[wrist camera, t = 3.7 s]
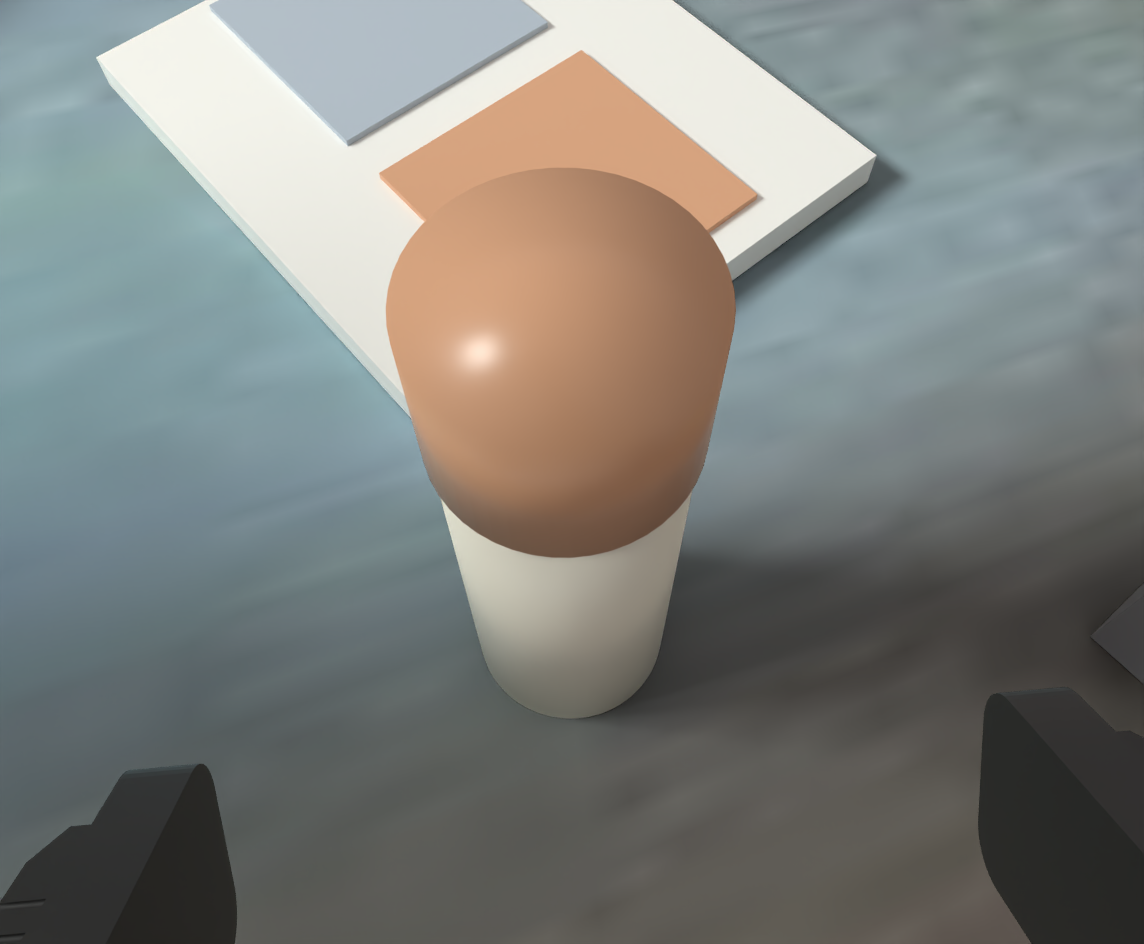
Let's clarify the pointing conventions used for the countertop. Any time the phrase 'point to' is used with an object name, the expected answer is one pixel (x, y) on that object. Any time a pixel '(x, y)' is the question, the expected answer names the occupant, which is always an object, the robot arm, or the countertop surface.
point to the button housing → (1126, 634)
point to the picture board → (466, 127)
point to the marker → (563, 415)
